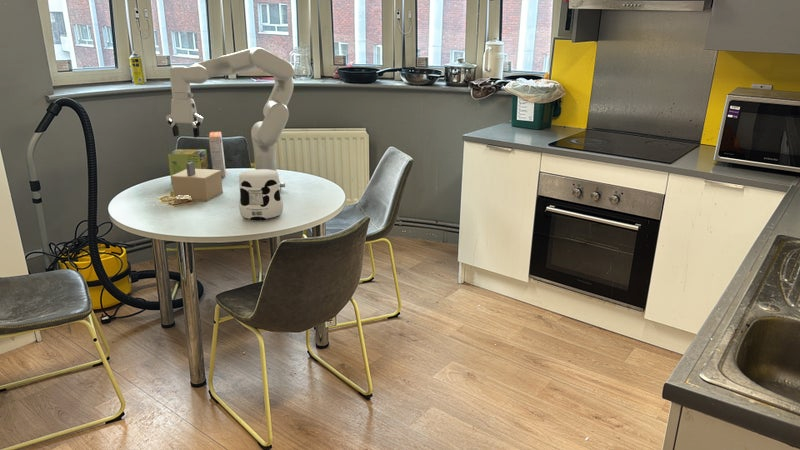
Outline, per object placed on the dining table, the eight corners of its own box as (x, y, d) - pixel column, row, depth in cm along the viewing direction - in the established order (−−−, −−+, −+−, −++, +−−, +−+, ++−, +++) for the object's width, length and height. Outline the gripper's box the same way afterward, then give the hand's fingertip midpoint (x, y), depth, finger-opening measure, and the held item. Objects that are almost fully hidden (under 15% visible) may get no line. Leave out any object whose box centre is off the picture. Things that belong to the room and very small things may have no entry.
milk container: (271, 207, 257) (268, 166, 251) (291, 218, 244) (288, 174, 238) (233, 216, 247) (228, 173, 241) (251, 227, 234) (247, 181, 228)
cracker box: (213, 171, 317) (209, 131, 310) (225, 170, 318) (221, 131, 311) (212, 178, 304) (208, 136, 297) (225, 177, 305) (221, 136, 298)
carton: (222, 192, 279) (220, 171, 276) (207, 201, 266) (204, 179, 263) (191, 190, 283) (188, 169, 279) (174, 199, 270) (171, 177, 266)
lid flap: (221, 171, 276) (219, 158, 274) (205, 179, 263) (203, 165, 261) (188, 169, 279) (186, 156, 277) (171, 177, 266) (169, 163, 264)
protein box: (203, 185, 291) (199, 153, 286) (171, 185, 292) (167, 153, 286) (210, 180, 301) (206, 149, 296) (179, 180, 301) (175, 149, 296)
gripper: (205, 95, 258) (209, 135, 263) (168, 94, 261) (173, 134, 267) (195, 97, 251) (200, 138, 256) (158, 96, 254) (163, 137, 260)
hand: (186, 136), depth 262 cm, fingers open, 9 cm apart
